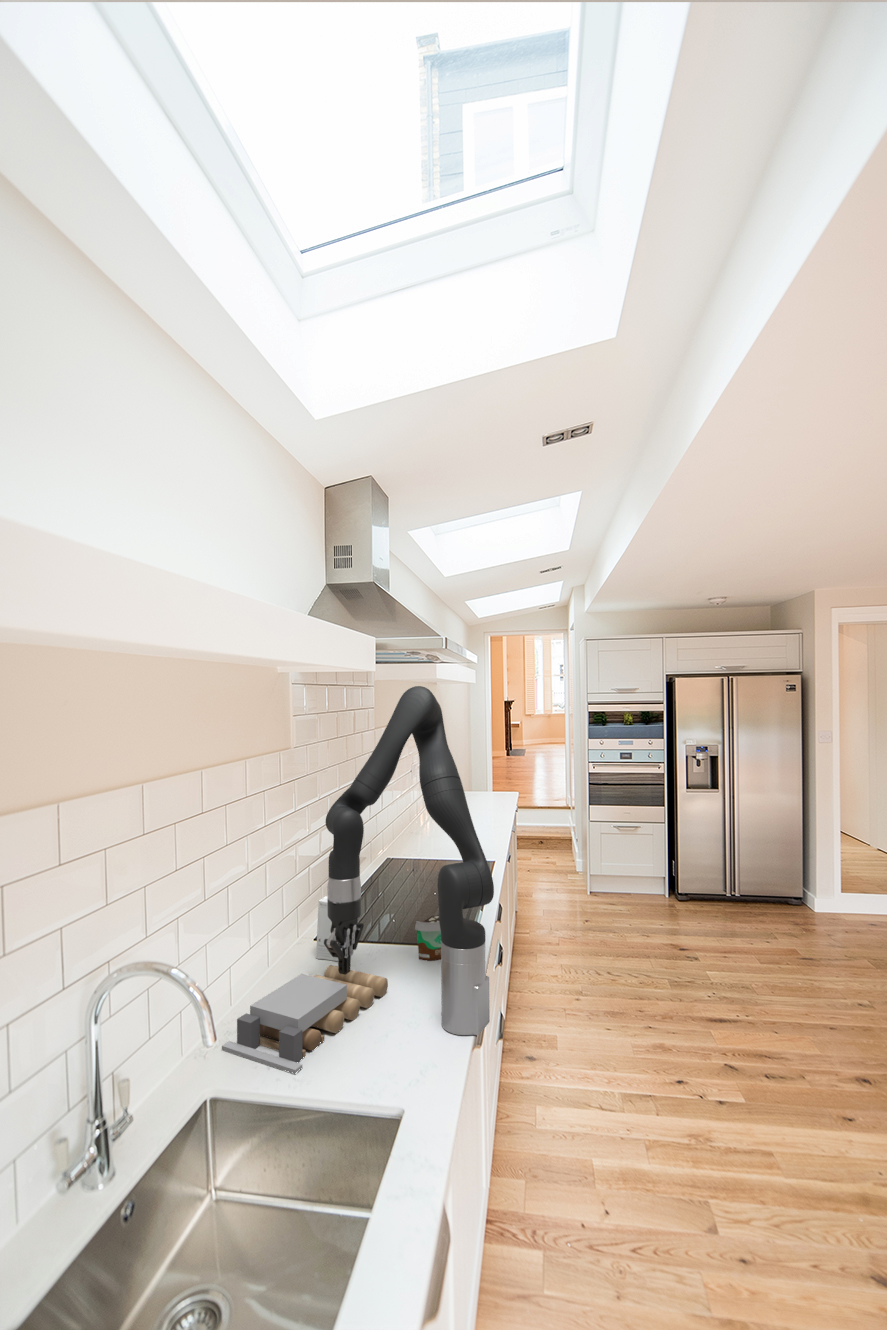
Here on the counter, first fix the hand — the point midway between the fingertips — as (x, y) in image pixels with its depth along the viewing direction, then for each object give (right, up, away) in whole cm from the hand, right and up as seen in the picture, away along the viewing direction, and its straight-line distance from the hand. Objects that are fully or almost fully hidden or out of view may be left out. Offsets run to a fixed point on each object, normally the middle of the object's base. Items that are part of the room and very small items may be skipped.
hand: (344, 972), depth 151 cm
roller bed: (-4, -5, -8) cm, 10 cm away
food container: (+21, -6, +22) cm, 31 cm away
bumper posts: (-11, -5, -22) cm, 25 cm away
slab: (-7, -1, -14) cm, 16 cm away
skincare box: (-6, -6, +22) cm, 24 cm away
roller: (-9, -6, -18) cm, 21 cm away
